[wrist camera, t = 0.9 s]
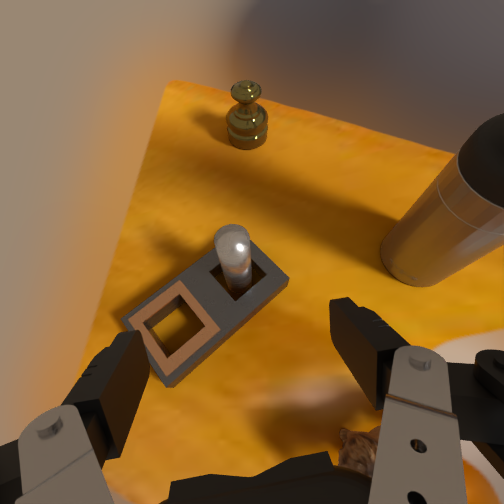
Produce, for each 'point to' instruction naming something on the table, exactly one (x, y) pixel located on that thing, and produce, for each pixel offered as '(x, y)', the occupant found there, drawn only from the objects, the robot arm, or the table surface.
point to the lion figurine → (359, 450)
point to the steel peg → (234, 256)
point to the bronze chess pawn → (247, 117)
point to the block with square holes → (202, 312)
